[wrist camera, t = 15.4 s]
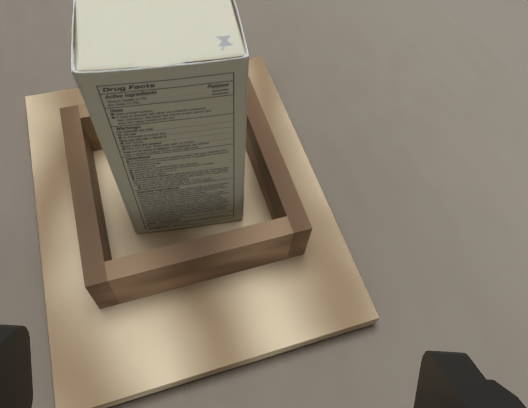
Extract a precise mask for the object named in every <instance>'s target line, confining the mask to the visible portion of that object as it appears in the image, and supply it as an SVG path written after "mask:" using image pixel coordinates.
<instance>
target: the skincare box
mask: <svg viewBox="0 0 528 408" xmlns="http://www.w3.org/2000/svg"><path fill="white" fill-rule="evenodd" d="M248 69H249V54H248V50H247V45H246V41H245V37H244V32H243V27H242V24H241V20H240V16H239V12H238V8H237V5H236V1H235V0H74V1H73V21H72V43H71V70H72V73H73V76H74V78H75V80H76V83H77V85H78V88H79V90H80V93H81V95H82V98H83V100H84V103H85V105H86V108H87V110H88V113H89V115H90V118H91V120H92V123H93V125H94V128H95V131H96V133H97V136H98V138H99V141H100V144H101V146H102V149H103V151H104V154H105V156H106V158H107V161H108V164H109V166H110V169H111V171H112V174H113V176H114V179H115V181H116V184H117V186H118V189H119V192H120V194H121V197H122V199H123V202H124V205H125V207H126V210H127V212H128V215H129V217H130V220H131V222H132V225H133V227H134V230H135V232H136V233H148V232H157V231H165V230H172V229H180V228H187V227H194V226H202V225H209V224H217V223H223V222H229V221H235V220H240V219H242V218H243V207H244V178H245V152H246V123H247V96H248Z"/></svg>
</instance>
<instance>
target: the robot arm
mask: <svg viewBox="0 0 528 408" xmlns="http://www.w3.org/2000/svg"><path fill="white" fill-rule="evenodd" d="M32 400H33V387H32V369H31V352H30V337H29V332H28V330H27V328H26V327H25V326H17V325H0V408H31V406H32ZM414 408H526V407H525V406H524V404H523V403H522V402H521V401H520V400H519V398H518V397H517V396H515V395H514V394H512V393H511V392H510V391H508V390H507V389H505V388H504V387H503V386H501V385H500V384H499V383H497V382H496V381H494V380H486V379H485V377H484V376H483V375H482V373H481V372H480V371H479V369H478V368H477V367H476V365H475V364H474V363H473V361H472V360H471V359H470V357H469V356H468V355H467V354H466V353H459V352H442V351H426V352H425V353H424V355H423V358H422V361H421V367H420V373H419V379H418V385H417V391H416V397H415V403H414Z"/></svg>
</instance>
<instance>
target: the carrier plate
mask: <svg viewBox="0 0 528 408" xmlns="http://www.w3.org/2000/svg"><path fill="white" fill-rule="evenodd" d="M26 107H27V117H28V128H29V138H30V148H31V158H32V169H33V179H34V189H35V199H36V210H37V220H38V230H39V240H40V251H41V261H42V271H43V281H44V292H45V302H46V312H47V322H48V333H49V343H50V353H51V363H52V374H53V384H54V394H55V404H56V408H108V407H111V406H114V405H118V404H121V403H124V402H127V401H130V400H133V399H137V398H140V397H143V396H146V395H149V394H153V393H156V392H159V391H162V390H165V389H168V388H172V387H175V386H178V385H181V384H184V383H188V382H191V381H194V380H197V379H200V378H203V377H207V376H210V375H213V374H216V373H219V372H223V371H226V370H229V369H232V368H235V367H239V366H242V365H245V364H248V363H251V362H254V361H258V360H261V359H264V358H267V357H270V356H274V355H277V354H280V353H283V352H286V351H289V350H293V349H296V348H299V347H302V346H305V345H309V344H312V343H315V342H318V341H321V340H324V339H328V338H331V337H334V336H337V335H340V334H344V333H347V332H350V331H353V330H356V329H360V328H363V327H366V326H369V325H372V324H374V323H375V322H376V321H377V320H378V319H379V316H378V314H377V312H376V310H375V308H374V305H373V303H372V301H371V299H370V296H369V294H368V292H367V290H366V288H365V285H364V283H363V281H362V279H361V276H360V274H359V272H358V270H357V268H356V265H355V263H354V261H353V259H352V256H351V254H350V252H349V250H348V247H347V245H346V243H345V241H344V239H343V236H342V234H341V232H340V230H339V227H338V225H337V223H336V221H335V219H334V216H333V214H332V212H331V210H330V207H329V205H328V203H327V201H326V199H325V196H324V194H323V192H322V190H321V187H320V185H319V183H318V181H317V179H316V176H315V174H314V172H313V170H312V167H311V165H310V163H309V161H308V159H307V156H306V154H305V152H304V150H303V147H302V145H301V143H300V141H299V139H298V136H297V134H296V132H295V130H294V127H293V125H292V123H291V121H290V119H289V116H288V114H287V112H286V110H285V107H284V105H283V103H282V101H281V99H280V96H279V94H278V92H277V90H276V87H275V85H274V83H273V81H272V79H271V76H270V74H269V72H268V70H267V67H266V65H265V63H264V61H263V59H262V56H261V57H255V58H249V69H248V96H247V123H246V152H245V178H244V207H243V218H242V219H240V220H235V221H229V222H223V223H217V224H209V225H202V226H194V227H187V228H180V229H172V230H165V231H157V232H148V233H136V232H135V230H134V227H133V225H132V222H131V220H130V217H129V215H128V212H127V210H126V207H125V205H124V202H123V199H122V197H121V194H120V192H119V189H118V186H117V184H116V181H115V179H114V176H113V174H112V171H111V169H110V166H109V164H108V161H107V158H106V156H105V154H104V151H103V149H102V146H101V144H100V141H99V138H98V136H97V133H96V131H95V128H94V125H93V123H92V120H91V118H90V115H89V113H88V110H87V108H86V105H85V103H84V100H83V98H82V95H81V93H80V90H79V88H73V89H67V90H61V91H56V92H50V93H44V94H38V95H32V96H26Z"/></svg>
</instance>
